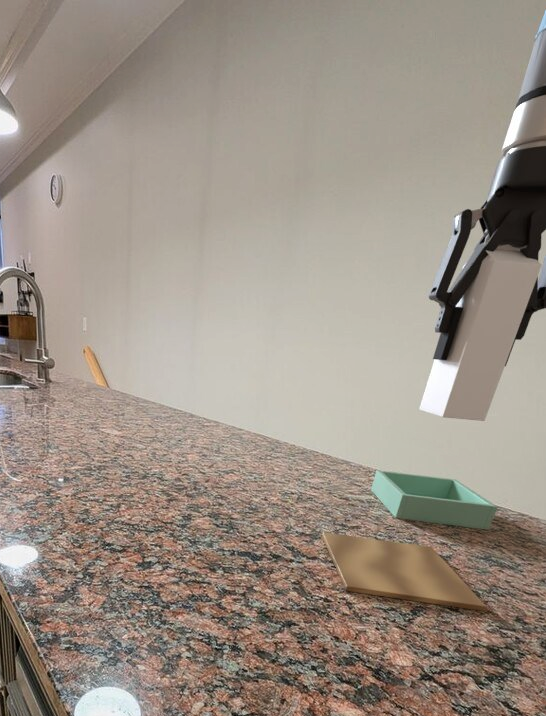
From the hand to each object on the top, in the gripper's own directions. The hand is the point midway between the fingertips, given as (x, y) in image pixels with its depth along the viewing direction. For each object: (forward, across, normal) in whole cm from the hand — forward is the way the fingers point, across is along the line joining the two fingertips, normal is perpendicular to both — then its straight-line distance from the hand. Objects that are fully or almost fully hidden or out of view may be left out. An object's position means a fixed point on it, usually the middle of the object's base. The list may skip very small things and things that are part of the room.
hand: (468, 362), depth 60 cm
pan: (+23, +4, +6) cm, 24 cm away
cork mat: (+23, -9, -19) cm, 31 cm away
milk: (+7, 0, 0) cm, 7 cm away
